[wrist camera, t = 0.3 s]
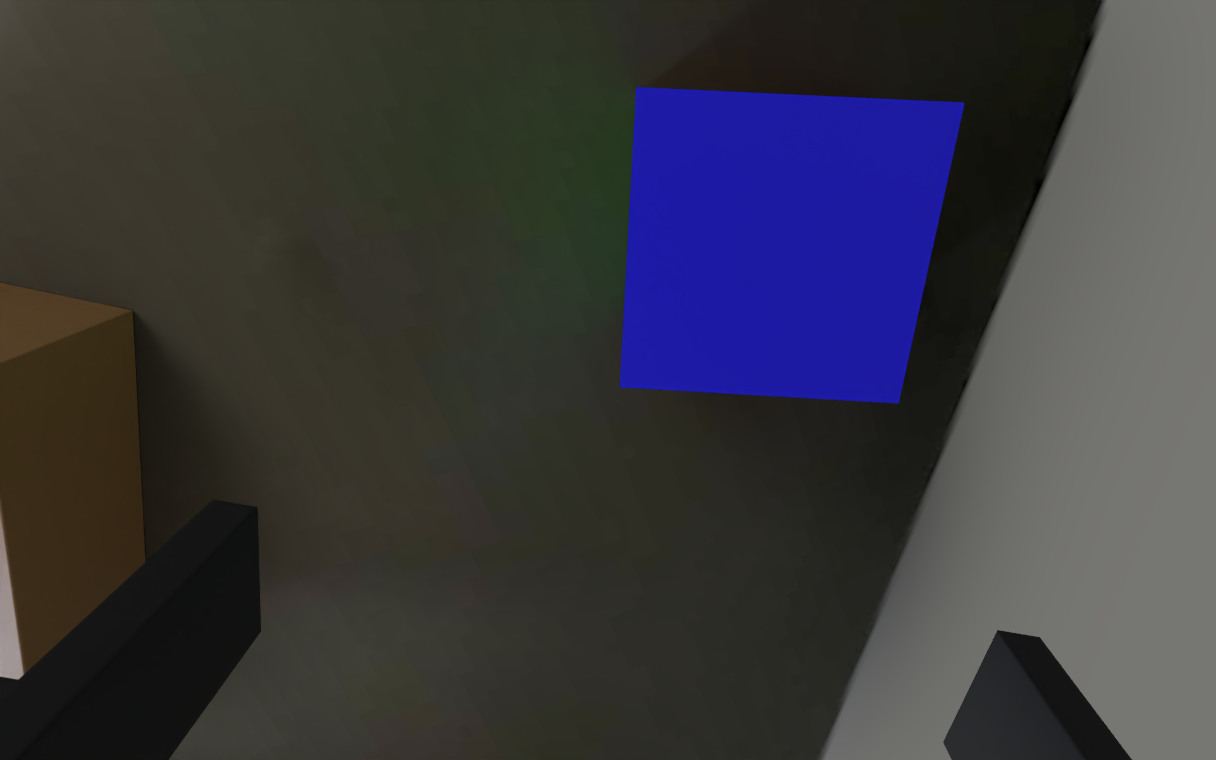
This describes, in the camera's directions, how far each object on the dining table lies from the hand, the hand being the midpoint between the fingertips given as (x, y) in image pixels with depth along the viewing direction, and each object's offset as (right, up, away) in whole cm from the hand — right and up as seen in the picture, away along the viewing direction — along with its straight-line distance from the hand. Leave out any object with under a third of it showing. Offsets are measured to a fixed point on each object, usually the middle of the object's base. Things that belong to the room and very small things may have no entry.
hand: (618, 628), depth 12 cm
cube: (+5, +11, +14) cm, 18 cm away
